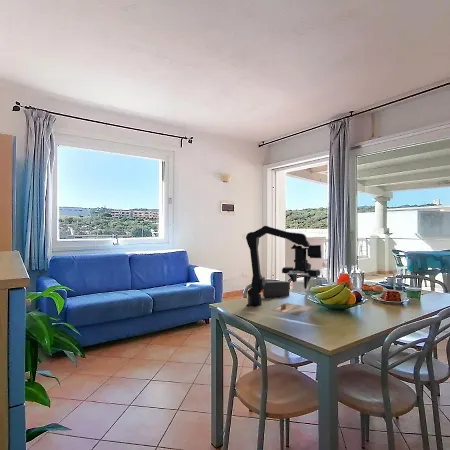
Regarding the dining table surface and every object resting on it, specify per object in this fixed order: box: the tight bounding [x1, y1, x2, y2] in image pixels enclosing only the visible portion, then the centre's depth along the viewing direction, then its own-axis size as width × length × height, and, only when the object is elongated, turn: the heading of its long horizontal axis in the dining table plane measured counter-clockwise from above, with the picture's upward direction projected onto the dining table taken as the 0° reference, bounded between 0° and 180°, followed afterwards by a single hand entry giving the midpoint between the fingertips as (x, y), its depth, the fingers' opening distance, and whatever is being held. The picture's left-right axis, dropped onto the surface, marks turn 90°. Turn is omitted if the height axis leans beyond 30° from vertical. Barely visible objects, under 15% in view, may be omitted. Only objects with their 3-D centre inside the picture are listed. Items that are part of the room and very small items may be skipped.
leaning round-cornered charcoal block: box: [262, 280, 290, 299], centre depth 190 cm, size 16×5×9 cm, turn 99°
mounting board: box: [270, 302, 314, 316], centre depth 160 cm, size 15×18×3 cm
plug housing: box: [292, 279, 309, 293], centre depth 163 cm, size 5×10×4 cm, turn 142°
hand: (300, 288), depth 162 cm, fingers closed on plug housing, 5 cm apart
